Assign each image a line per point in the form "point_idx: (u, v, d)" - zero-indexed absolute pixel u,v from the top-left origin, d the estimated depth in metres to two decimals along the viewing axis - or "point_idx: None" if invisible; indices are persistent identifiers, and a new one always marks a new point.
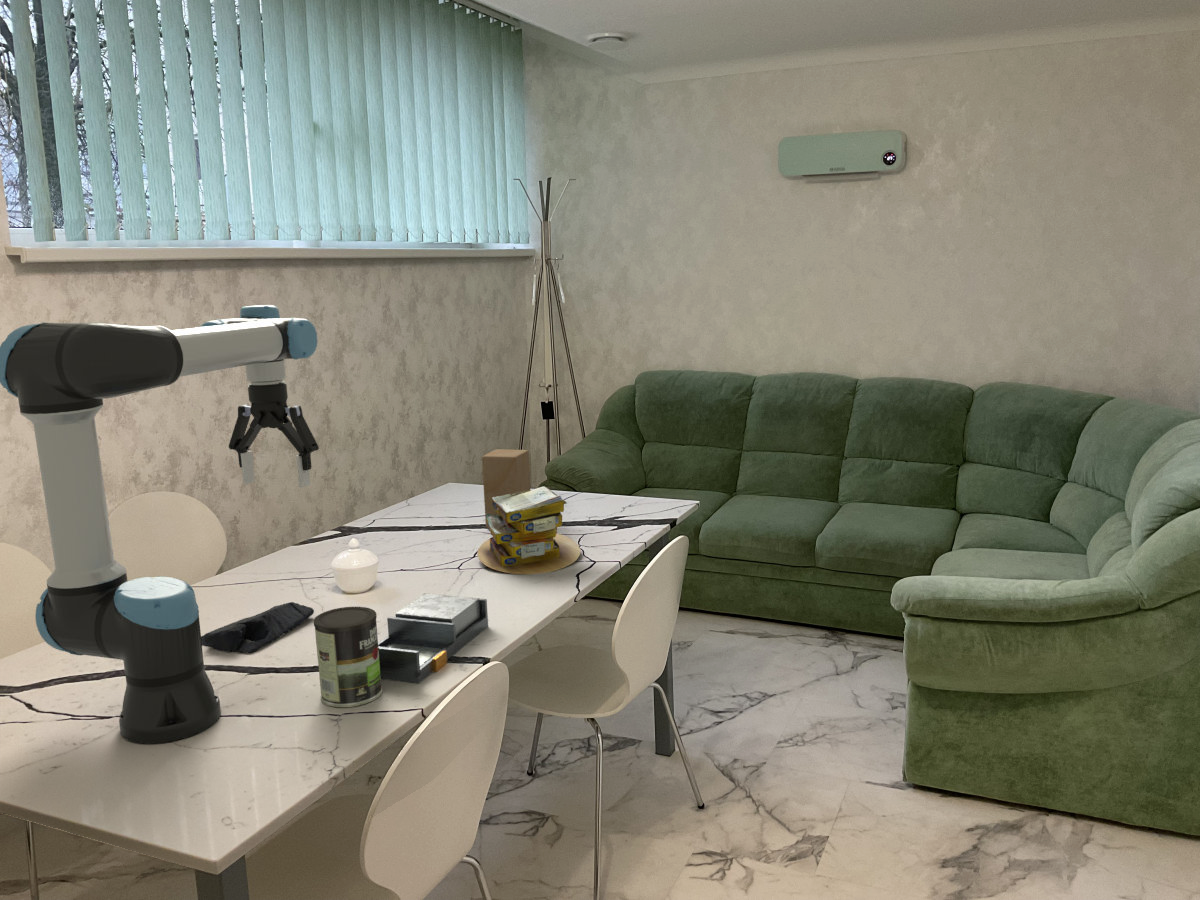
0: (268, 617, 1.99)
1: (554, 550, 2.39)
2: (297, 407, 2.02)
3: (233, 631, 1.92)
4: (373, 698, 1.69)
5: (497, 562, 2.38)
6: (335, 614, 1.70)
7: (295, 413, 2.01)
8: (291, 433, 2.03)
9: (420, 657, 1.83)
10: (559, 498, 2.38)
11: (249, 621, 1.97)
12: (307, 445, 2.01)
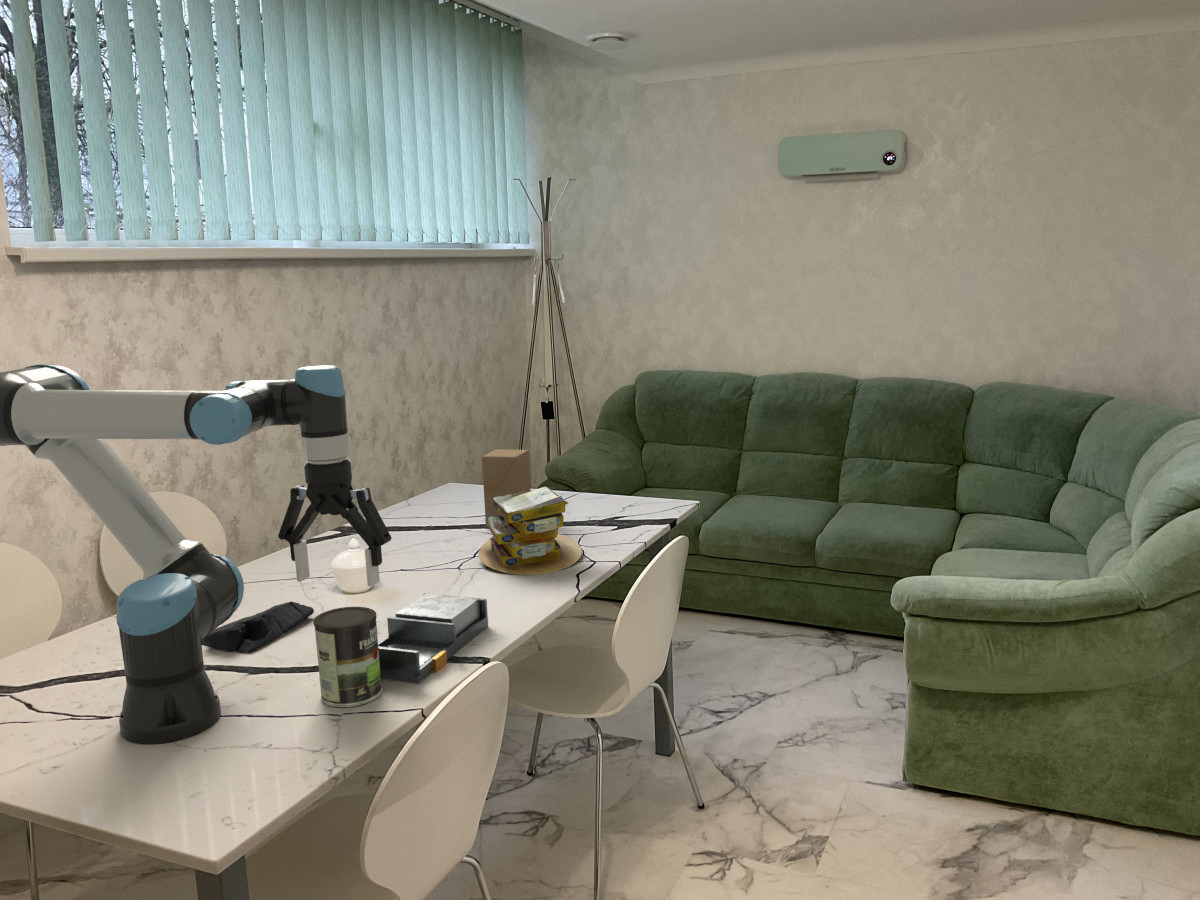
0: (268, 616, 1.99)
1: (555, 551, 2.39)
2: (365, 490, 1.65)
3: (233, 630, 1.92)
4: (373, 698, 1.69)
5: (498, 562, 2.38)
6: (335, 614, 1.70)
7: (363, 498, 1.65)
8: (358, 521, 1.66)
9: (420, 657, 1.83)
10: (560, 499, 2.37)
11: (249, 620, 1.97)
12: (378, 536, 1.65)
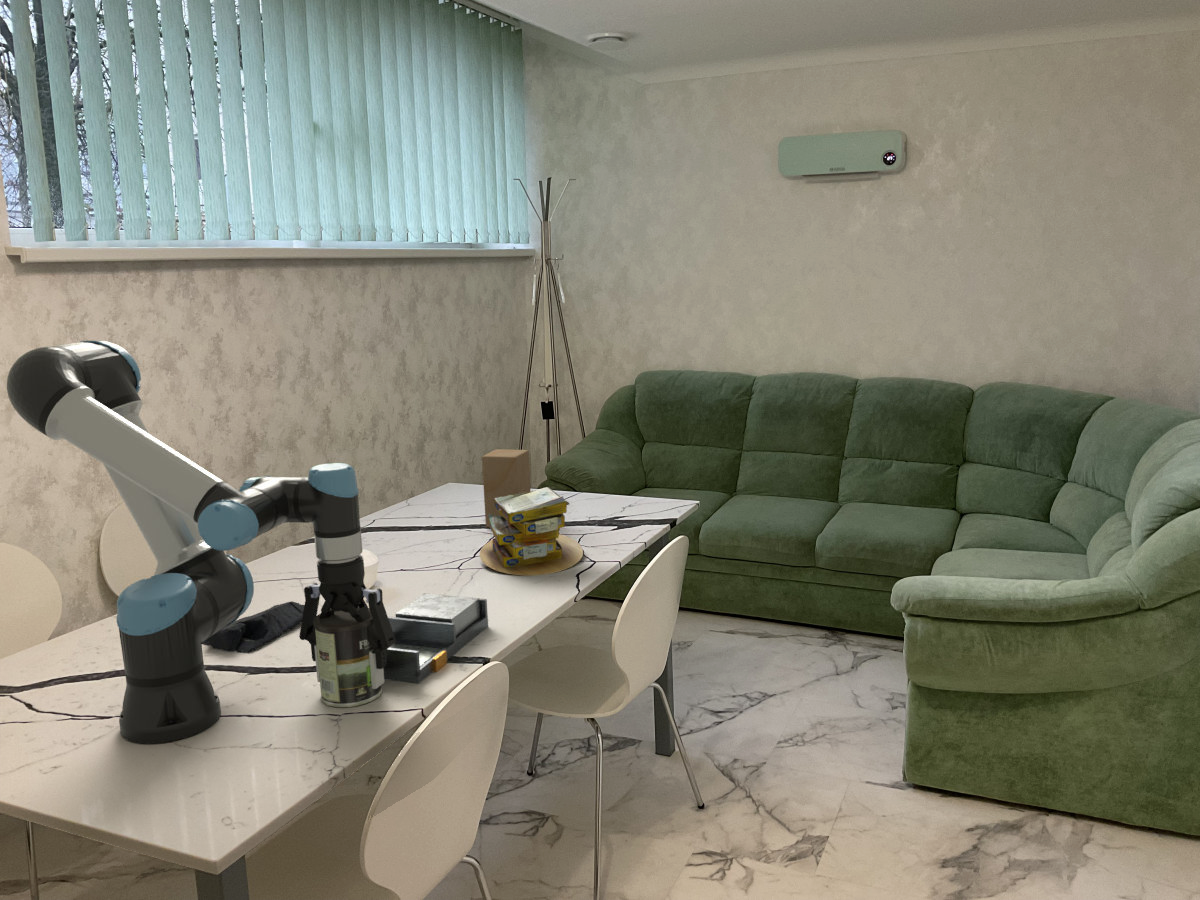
0: (268, 616, 2.00)
1: (556, 551, 2.38)
2: (378, 592, 1.66)
3: (232, 630, 1.93)
4: (373, 698, 1.69)
5: (499, 563, 2.37)
6: (335, 614, 1.70)
7: (375, 600, 1.65)
8: None
9: (420, 657, 1.83)
10: (562, 499, 2.36)
11: (249, 620, 1.98)
12: (383, 640, 1.65)
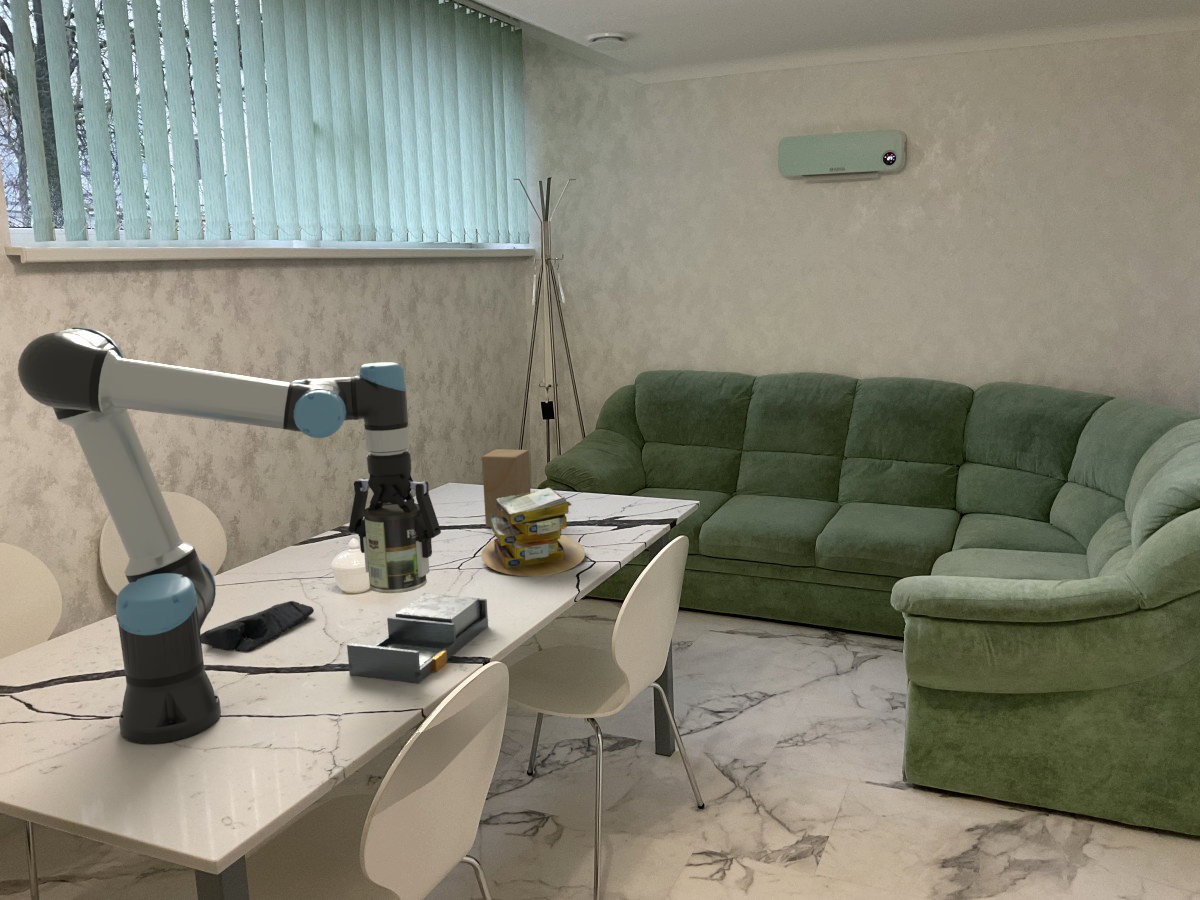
0: (267, 616, 2.00)
1: (558, 552, 2.38)
2: (425, 484, 1.75)
3: (231, 629, 1.93)
4: (419, 586, 1.78)
5: (501, 564, 2.37)
6: (383, 507, 1.79)
7: (422, 491, 1.74)
8: None
9: (420, 657, 1.83)
10: (563, 500, 2.36)
11: (248, 619, 1.98)
12: (429, 529, 1.75)
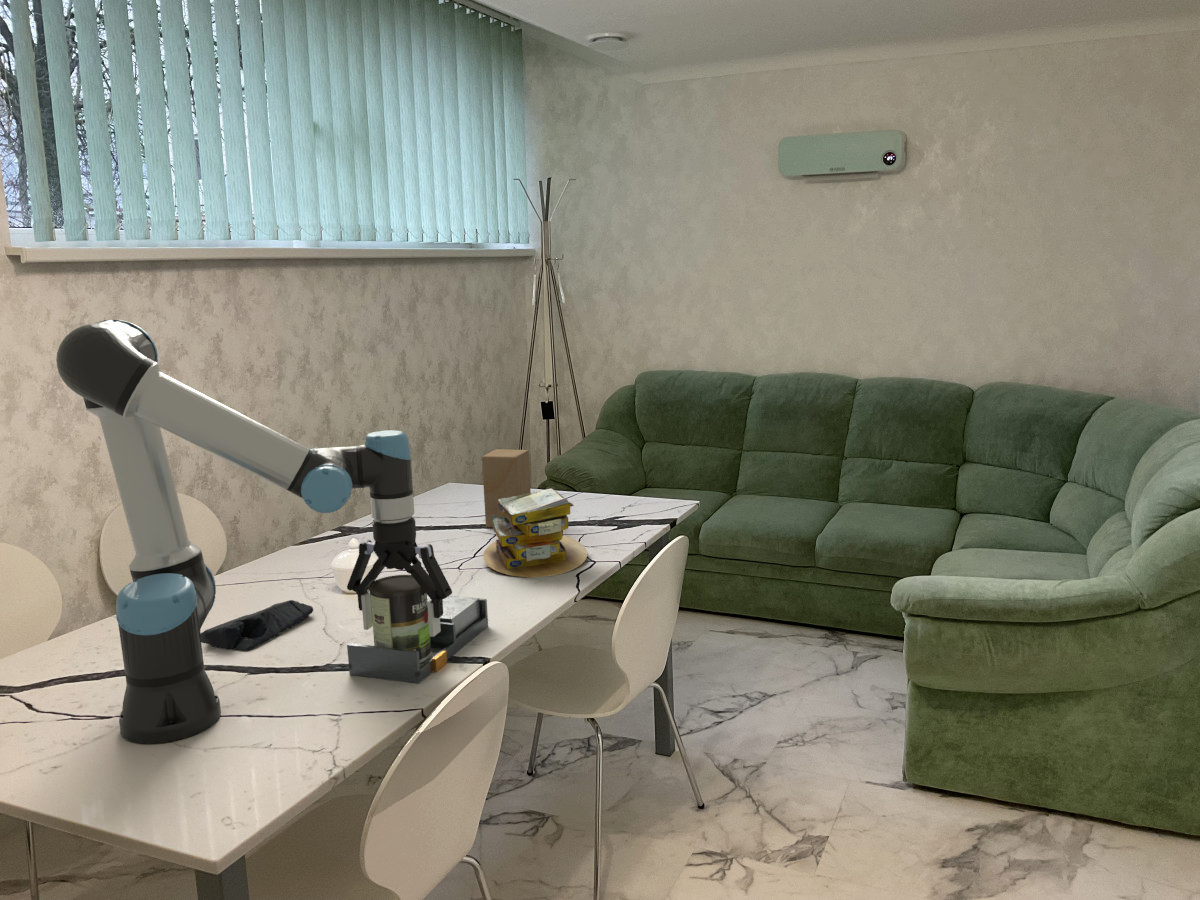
0: (266, 615, 2.00)
1: (560, 553, 2.37)
2: (429, 547, 1.77)
3: (231, 628, 1.93)
4: (424, 659, 1.81)
5: (502, 564, 2.36)
6: (388, 581, 1.82)
7: (427, 554, 1.76)
8: (421, 576, 1.78)
9: None
10: (565, 500, 2.35)
11: (247, 619, 1.98)
12: (440, 591, 1.77)
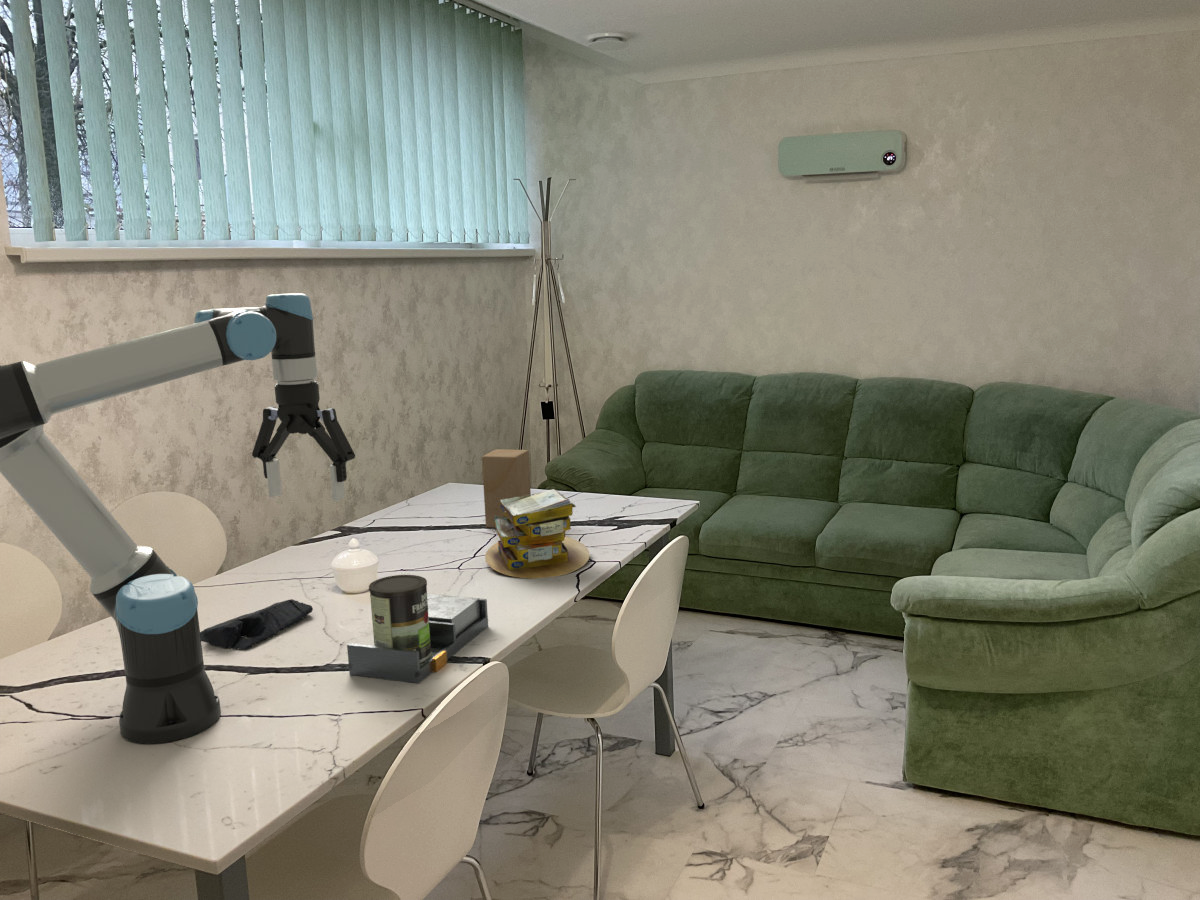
0: (265, 614, 2.01)
1: (562, 554, 2.36)
2: (331, 410, 1.77)
3: (229, 627, 1.94)
4: (424, 659, 1.81)
5: (504, 565, 2.35)
6: (388, 581, 1.82)
7: (329, 417, 1.76)
8: (324, 439, 1.78)
9: None
10: (567, 501, 2.34)
11: (246, 618, 1.99)
12: (342, 453, 1.76)
